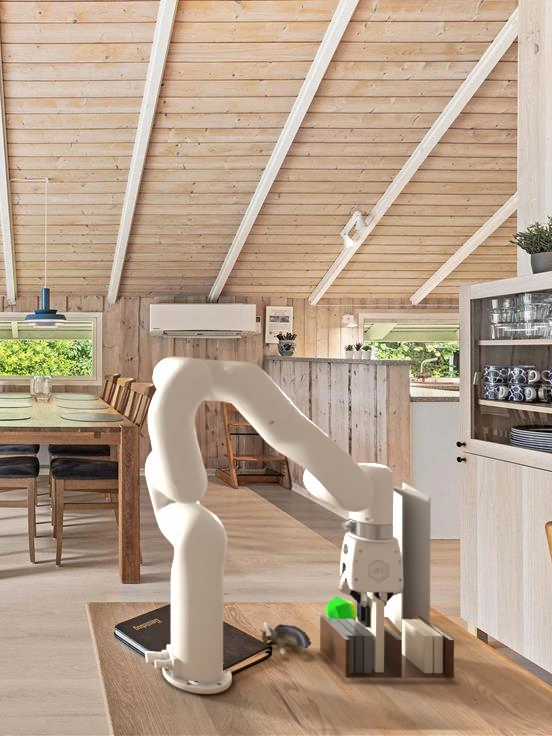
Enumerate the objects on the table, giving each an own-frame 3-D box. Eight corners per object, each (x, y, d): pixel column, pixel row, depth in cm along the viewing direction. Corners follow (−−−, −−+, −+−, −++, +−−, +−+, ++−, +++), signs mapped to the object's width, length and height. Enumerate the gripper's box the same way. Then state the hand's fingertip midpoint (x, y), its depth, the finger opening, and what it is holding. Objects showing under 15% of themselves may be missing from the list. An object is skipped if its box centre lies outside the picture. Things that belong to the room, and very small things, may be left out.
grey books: (346, 673, 116) (346, 635, 116) (327, 653, 123) (327, 618, 123) (372, 673, 116) (372, 635, 116) (352, 653, 123) (352, 618, 123)
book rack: (345, 682, 115) (345, 639, 115) (320, 655, 125) (320, 615, 125) (454, 683, 115) (454, 640, 115) (419, 655, 125) (419, 615, 125)
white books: (424, 673, 116) (424, 636, 116) (401, 654, 123) (401, 618, 123) (443, 673, 116) (443, 636, 116) (419, 654, 123) (419, 619, 123)
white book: (375, 672, 116) (376, 603, 116) (355, 653, 123) (356, 588, 123) (384, 672, 116) (384, 603, 116) (363, 653, 123) (364, 588, 123)
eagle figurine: (265, 658, 121) (314, 656, 119) (257, 618, 125) (305, 615, 123) (265, 663, 127) (312, 661, 125) (258, 625, 131) (303, 622, 129)
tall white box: (430, 639, 131) (430, 497, 131) (401, 637, 132) (401, 496, 132) (403, 610, 145) (403, 482, 145) (377, 608, 146) (378, 481, 146)
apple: (329, 593, 137) (364, 590, 138) (314, 603, 141) (349, 599, 143) (344, 627, 132) (380, 623, 134) (329, 636, 137) (364, 632, 139)
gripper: (339, 534, 116) (338, 633, 116) (423, 535, 116) (423, 634, 116) (320, 522, 124) (319, 615, 124) (399, 523, 123) (398, 616, 123)
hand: (369, 623), depth 120 cm, fingers closed on white book, 1 cm apart
